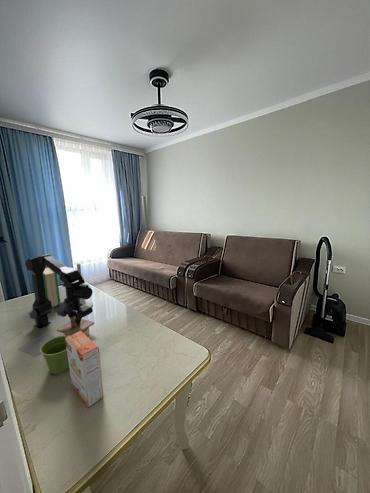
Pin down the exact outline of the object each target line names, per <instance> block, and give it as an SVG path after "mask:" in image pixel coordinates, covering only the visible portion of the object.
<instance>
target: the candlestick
mask: <svg viewBox="0 0 370 493" xmlns="http://www.w3.org/2000/svg"><path fill="white" fill-rule="evenodd" d="M76 267H77V268H76V270H78V271H79V273H80V275H81V276H82V277H83V273H82V268H81V263H76ZM80 303H82V306H80V307H85V306H88V307H92V308H93V307H94V302H93V301H90V300H86V299H82V298H80Z"/></svg>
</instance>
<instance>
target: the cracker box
mask: <svg viewBox="0 0 370 493" xmlns="http://www.w3.org/2000/svg"><path fill="white" fill-rule="evenodd" d="M65 340H66V347H67V354H68V362H69V368H68V369H69V375H70V382H71V383H70V384H71V386H72V387H73V389H74V390H75V392H76V393H77V395H79V397H80V398H81V399H82V401H83V403H84V404H85V405H86V407H87V409H89V408H91V407H92V406H94V405H95V404H96V403H97V402H98V401H100V400H101V399H102V398H103V397H104V389H103V388H104V387H103V377H102V367H101V355H100V347H99V346H98V344H96V343H95V342H94V341H93V340H92V339H91V338H89V337H88V336H86V335H85V334H84V333H83V332H82V331H79V332H77V333H74V334H72V335H70V336H68V337H66V338H65Z"/></svg>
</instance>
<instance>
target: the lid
mask: <svg viewBox="0 0 370 493" xmlns="http://www.w3.org/2000/svg"><path fill="white" fill-rule="evenodd" d="M70 319H71V320H70ZM69 320H70V321H68V322H67V323H65V324H63V325H62V326H60V327H59V328H57V329H56V331H57V332H59V333H62V334H63V335H64V334H67V335H72V334H74V333H77V332H79V331H82V332H83V331H84V330H86V329H87V328H89V329H90V328H91V327H92V326H93V325H95V321H91V320H89V319H84V318H82V319H81V322H80V324H79V325H77V322H76V317H75V316H72V317H70V318H69Z"/></svg>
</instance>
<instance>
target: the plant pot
mask: <svg viewBox="0 0 370 493" xmlns="http://www.w3.org/2000/svg"><path fill="white" fill-rule="evenodd" d="M54 337H55V338H52V339H50V340H48V341H47V342H45V343H44V344H43V345H42V346H41V348H40V353H41V354H40V355H42V357H43V358H44V360H45V363H46V365H47V367H48V371H49V374H50V375H56V376H57V375H60V374H63V373H65V372H66V371H67V370H68V369H69V362H68V354H67V347H66V340H65V338H66V337H68V336H64V335H60V336H59V335H58V336H54Z"/></svg>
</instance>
